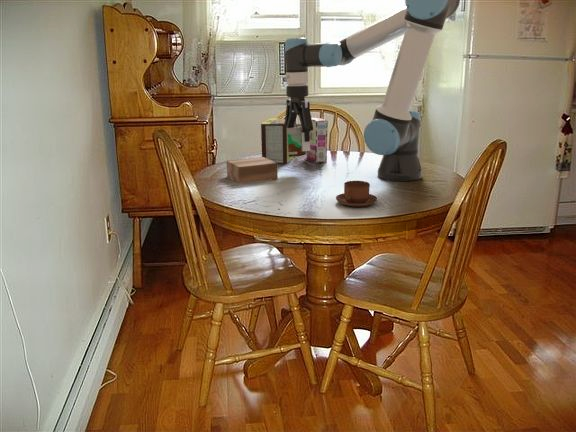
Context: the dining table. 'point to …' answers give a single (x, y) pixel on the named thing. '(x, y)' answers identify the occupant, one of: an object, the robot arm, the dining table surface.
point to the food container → (295, 141)
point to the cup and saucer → (356, 194)
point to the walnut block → (252, 170)
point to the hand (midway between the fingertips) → (298, 148)
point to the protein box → (275, 141)
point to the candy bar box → (318, 141)
